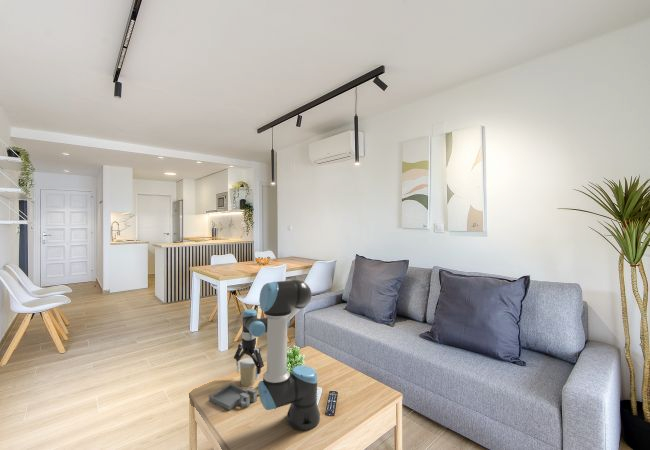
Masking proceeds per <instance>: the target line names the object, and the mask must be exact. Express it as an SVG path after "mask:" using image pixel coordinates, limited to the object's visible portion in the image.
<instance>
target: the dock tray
mask: <svg viewBox="0 0 650 450" xmlns="http://www.w3.org/2000/svg"><path fill="white" fill-rule="evenodd" d="M249 392H251V393H253V398H250V395H249ZM208 401H209V402H210V403H212V404H214V405H215V406H218V407H220V408H222V409H225V411H232V410H233V409H234V408H236V407H237V406H238V405H239V406H241V407H243V408H246V409H248V408H249V407H250V405H251V403H256V402H257V401H258V395H257V390H254V388H251V387H248V389H245V388H243V387H240V386H238V385H237V384H236V385H235V384H234V383H229V384H228V385H227V384H226V386H224V387H222V388H221V389H219V390H217V391H215V392H214V393H213V394H210V395H209V397H208ZM250 402H251V403H250Z"/></svg>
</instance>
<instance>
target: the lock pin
mask: <svg viewBox="0 0 650 450" xmlns="http://www.w3.org/2000/svg"><path fill="white" fill-rule="evenodd" d="M253 389H254V390H257V396H259V392H258V385H257V386H256V387H255V388H253ZM249 395H250V398H253V393H251V392H249Z"/></svg>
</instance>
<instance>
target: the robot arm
mask: <svg viewBox="0 0 650 450" xmlns="http://www.w3.org/2000/svg"><path fill="white" fill-rule="evenodd" d="M312 296H313V295H312V290H311V288H310V286H309V284H307V283H306V282H304V281H303V280H298V279H293V280H281V281H280V280H279V281H272V282H266V283H264V284H263V286H262V287H261V289H260V293H259V307H260V310H261V311H262V312H263V313H264V316H266V317H263V318H262V317H261V318H258V313H257V312H258V311H257V310H256V309H255V308H248V309H244V310H243V312H242V325H241V327H242V328H241V330H242V333H241V334H242V335H241V338H242V339H241V343H239V344H238V347H237V349H236V352H235V354H234V356H233V359H234V360H235V361H236V373H237V374H239V373H240V362H241V360H242V358H243V357H244V356H245V355H246V356H249V358H252V359H253V361H254V363H255V365H256V367H257V368H256V369H255V381H258V380H259V379H260V378H261V377H260V376H261V375H260V374H261V372H262V371H261V370H262V368H263V367H264V366H265V364H264V361H263V357H262V355H261V348H256V345H257V338H260V337H261V336H263V335H264V334H266V333H267V334H266V338H267V339H266V342H267V343H266V371H265V372H264V373H263V375H262V380H260V381H259V382H258V383H257V384H258V385H257V386H258V392H259V394H258V397H259V399H260V403H261V405H262V407H263V408H264V410H267V411H271V410H276V409H278V408H282V407H285V406H287V405H289V408H288V411H287V414H286V415H287V416H286V423H287V424H288V425H289V427H290V428H292V429H294V430H297V431H309V430H311V429H314V428H315V427H317V426H318V425H319V423H320V420H321V413H320V410H319V406H318V402H317V400H318V397H317V396H318V373H317V371H316V370H315V369H314V368H312V367H310V366H307V365H296V366H294V367H293V368H292V370H291V373H290V372H289V371H288V368H287V364H288V363H287V361H288V328H289V327H290V325H291V324H290V323H291V322H290V321H291V320H292V319H293V317H294V316H295V315H297V314H298V312H299V311H300V310H302V309H304V308H306V307H307V306H308V304H310V302H311V299H312Z"/></svg>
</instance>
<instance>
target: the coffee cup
mask: <svg viewBox="0 0 650 450" xmlns="http://www.w3.org/2000/svg"><path fill="white" fill-rule="evenodd" d="M240 360H241V362H240V372H239V373H240V385H241V386H243V387H250V386H251V387H252V386H253V385H255V384H256V380H255V369H256V368H257V367H256V365H255V363H254V361H253V359H252V358H251V357H245V358H243V359H240Z"/></svg>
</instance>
